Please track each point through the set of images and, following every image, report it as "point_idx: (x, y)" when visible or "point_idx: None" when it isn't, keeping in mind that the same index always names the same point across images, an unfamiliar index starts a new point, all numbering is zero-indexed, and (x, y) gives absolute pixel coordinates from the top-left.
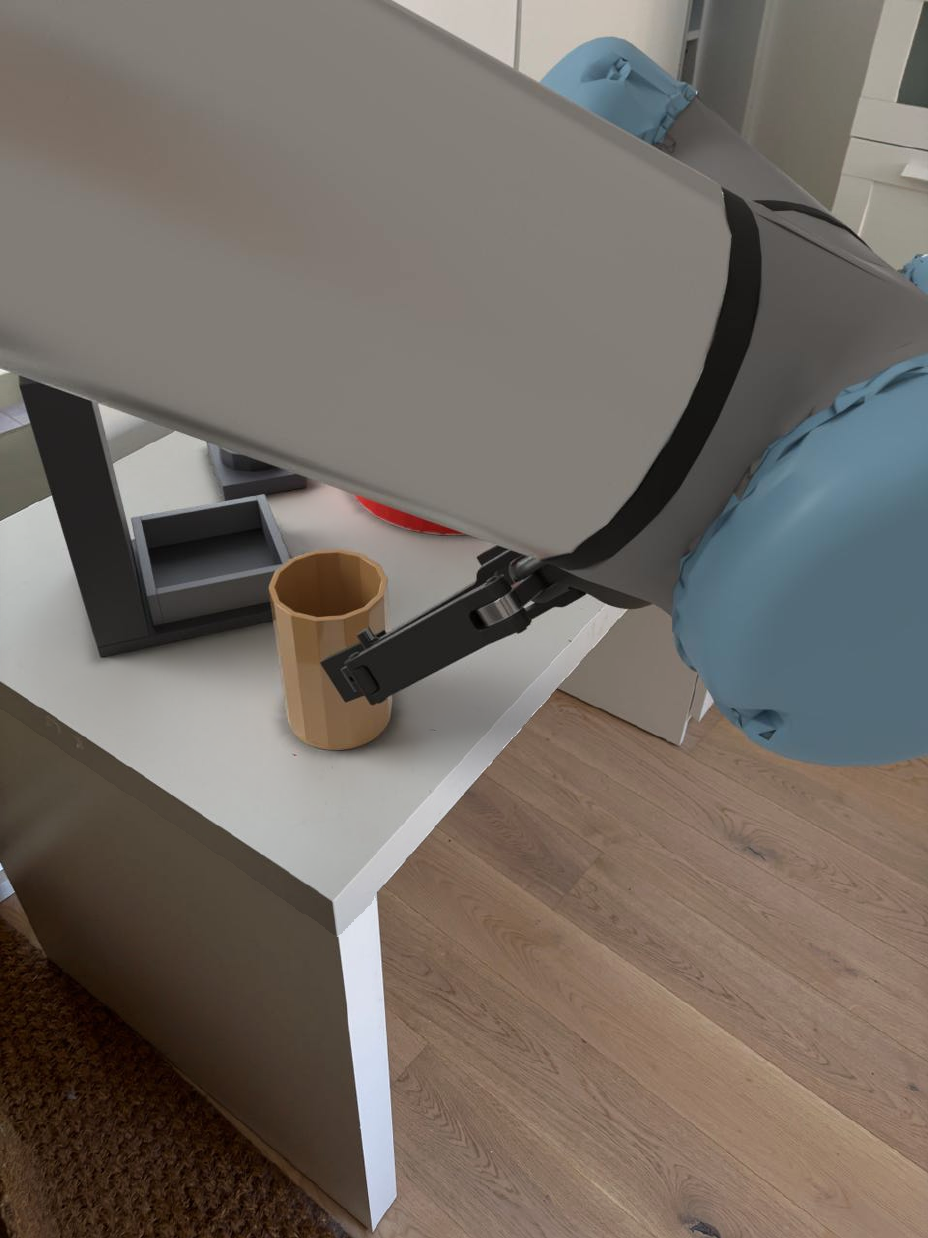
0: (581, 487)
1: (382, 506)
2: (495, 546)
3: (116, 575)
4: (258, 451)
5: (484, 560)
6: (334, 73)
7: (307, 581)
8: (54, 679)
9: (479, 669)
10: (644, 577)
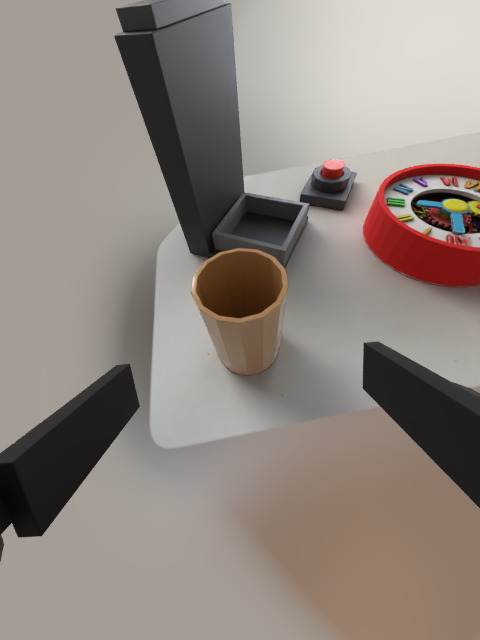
0: None
1: (371, 237)
2: (392, 355)
3: (192, 215)
4: None
5: (369, 354)
6: None
7: (248, 268)
8: (169, 253)
9: (343, 374)
10: None
